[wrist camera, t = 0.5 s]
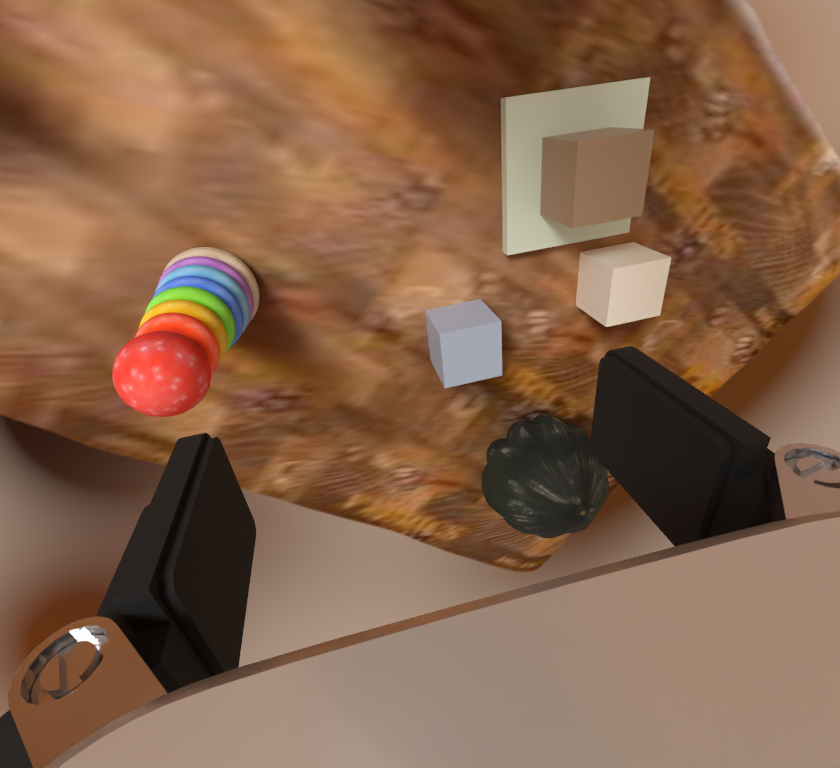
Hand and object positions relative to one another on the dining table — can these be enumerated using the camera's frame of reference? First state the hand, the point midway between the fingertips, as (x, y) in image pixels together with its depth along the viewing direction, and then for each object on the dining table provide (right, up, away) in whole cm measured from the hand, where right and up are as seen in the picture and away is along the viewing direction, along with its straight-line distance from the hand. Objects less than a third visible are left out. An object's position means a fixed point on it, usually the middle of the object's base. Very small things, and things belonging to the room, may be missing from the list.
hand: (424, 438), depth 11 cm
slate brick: (+4, +7, +37) cm, 38 cm away
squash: (+13, -7, +48) cm, 51 cm away
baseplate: (+14, +21, +31) cm, 40 cm away
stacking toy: (-19, +10, +29) cm, 36 cm away
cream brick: (+20, +13, +37) cm, 44 cm away
